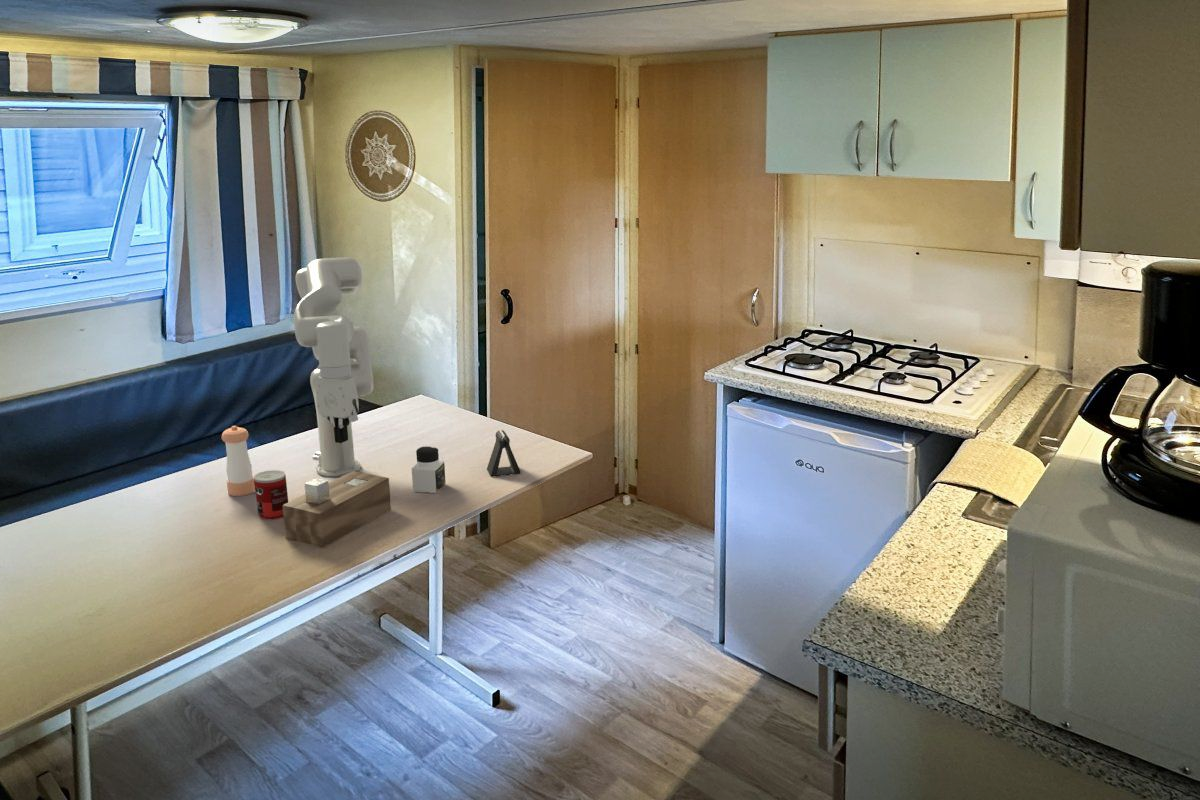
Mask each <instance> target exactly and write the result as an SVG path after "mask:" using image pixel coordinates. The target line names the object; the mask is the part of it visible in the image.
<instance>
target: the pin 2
mask: <svg viewBox="0 0 1200 800" xmlns="http://www.w3.org/2000/svg"><path fill="white" fill-rule="evenodd" d="M365 482H367V481H365V480H360V479H356V478H355V479H353V480H351V481H349V482H347V483H345V484H348V485H352V486H359V485H361V484H363V483H365Z"/></svg>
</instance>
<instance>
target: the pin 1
mask: <svg viewBox="0 0 1200 800" xmlns="http://www.w3.org/2000/svg"><path fill="white" fill-rule="evenodd" d="M328 483H329V480H327V479H321V478H317V477H315V478H313V479H311V480H308V481H307V482H305V483H304V491H305V493H304V494H306V503H309V504H314V505H318V506H319V505H321V504H323V503H325V502H327V501H329V500H330V495H329V484H328Z"/></svg>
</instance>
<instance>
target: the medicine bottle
mask: <svg viewBox="0 0 1200 800" xmlns="http://www.w3.org/2000/svg"><path fill="white" fill-rule="evenodd" d="M415 453H416V463H415V465H413V466H412V468H411V477H412V478H411V481H412V491H413V492H416V493H425V492H429V493H428V494H438V492H439V491H441V489H442V488H443V487H444V486H445V485H446V470H445V469H446V468H445V467H446V465H445V461H443V460H440V459H439V456H440V455H439V449H438V448H437V447H436V446H433V445H423V446H421V447H418V448H417V449H416V451H415Z"/></svg>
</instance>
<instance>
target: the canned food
mask: <svg viewBox="0 0 1200 800" xmlns="http://www.w3.org/2000/svg"><path fill="white" fill-rule="evenodd" d="M253 477H254V486H255V491H254V492H255V493H254V494H255V500H256V509H257V515H258V517H259V518H261V519H262V520H263V519H264V520H270V521H271V520H277V519H281V518H284V515H283V506H282V505H284V504H286V503H288V502H289V496H288V487H287V477H286V473H285V471H281V470H273V469H271V470H265V471H261V472H258V473H256V474H255V475H253Z"/></svg>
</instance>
